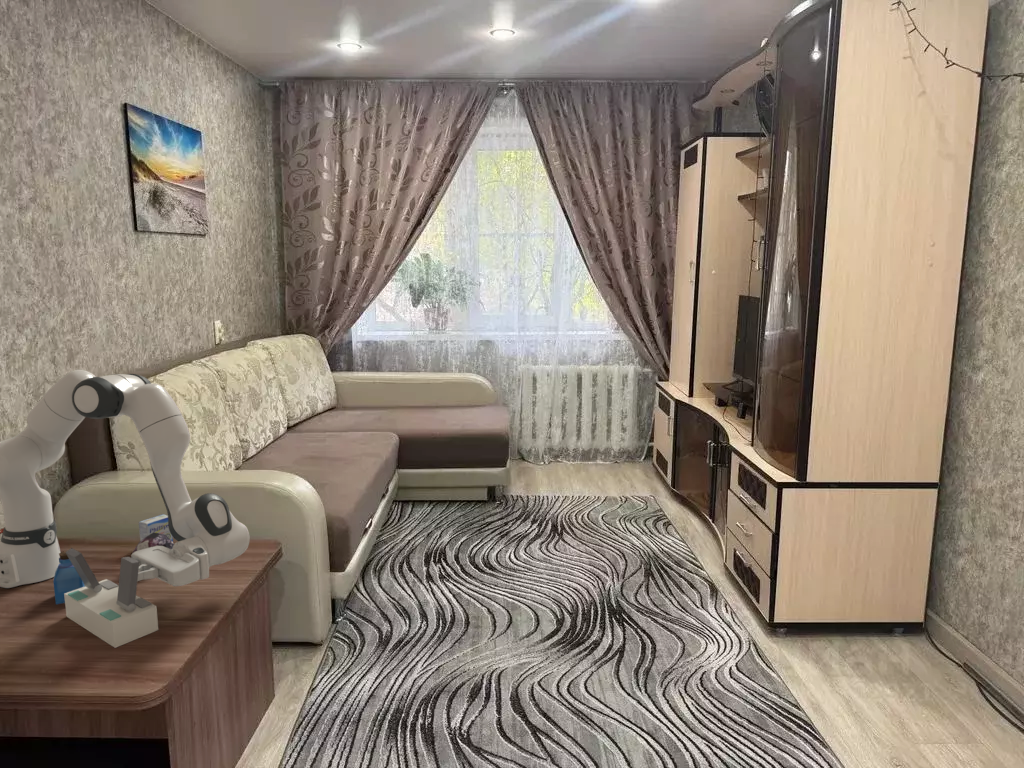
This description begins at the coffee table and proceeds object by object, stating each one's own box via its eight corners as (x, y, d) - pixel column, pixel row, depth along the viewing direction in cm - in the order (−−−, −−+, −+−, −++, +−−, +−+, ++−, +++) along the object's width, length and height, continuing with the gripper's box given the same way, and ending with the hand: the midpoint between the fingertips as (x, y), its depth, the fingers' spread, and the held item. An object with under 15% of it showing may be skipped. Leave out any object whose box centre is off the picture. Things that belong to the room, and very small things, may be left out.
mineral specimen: (125, 560, 207) (137, 526, 208) (163, 565, 214) (175, 532, 215) (132, 571, 200) (145, 535, 201) (171, 576, 206) (184, 541, 207)
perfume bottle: (55, 604, 185) (50, 559, 183) (57, 594, 191) (53, 550, 188) (84, 599, 188) (79, 555, 186) (85, 589, 193) (80, 546, 191)
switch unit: (66, 616, 179) (63, 592, 178) (108, 601, 187) (106, 578, 186) (115, 647, 165) (112, 621, 164) (158, 629, 173) (156, 604, 172)
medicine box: (149, 552, 218) (146, 524, 216) (140, 548, 220) (138, 521, 219) (173, 543, 224) (171, 516, 223) (164, 540, 227) (162, 513, 225)
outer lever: (115, 606, 171) (120, 557, 170) (123, 604, 172) (128, 556, 172) (127, 612, 168) (132, 563, 167) (135, 610, 169) (139, 562, 169)
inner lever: (86, 588, 181) (64, 552, 176) (93, 583, 182) (71, 547, 177) (96, 594, 178) (74, 557, 173) (103, 589, 179) (82, 552, 174)
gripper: (164, 535, 187) (108, 553, 176) (210, 554, 175) (154, 575, 164) (166, 559, 188) (111, 578, 177) (212, 579, 176) (156, 601, 165)
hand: (132, 576), depth 171 cm, fingers closed, pressing on outer lever
